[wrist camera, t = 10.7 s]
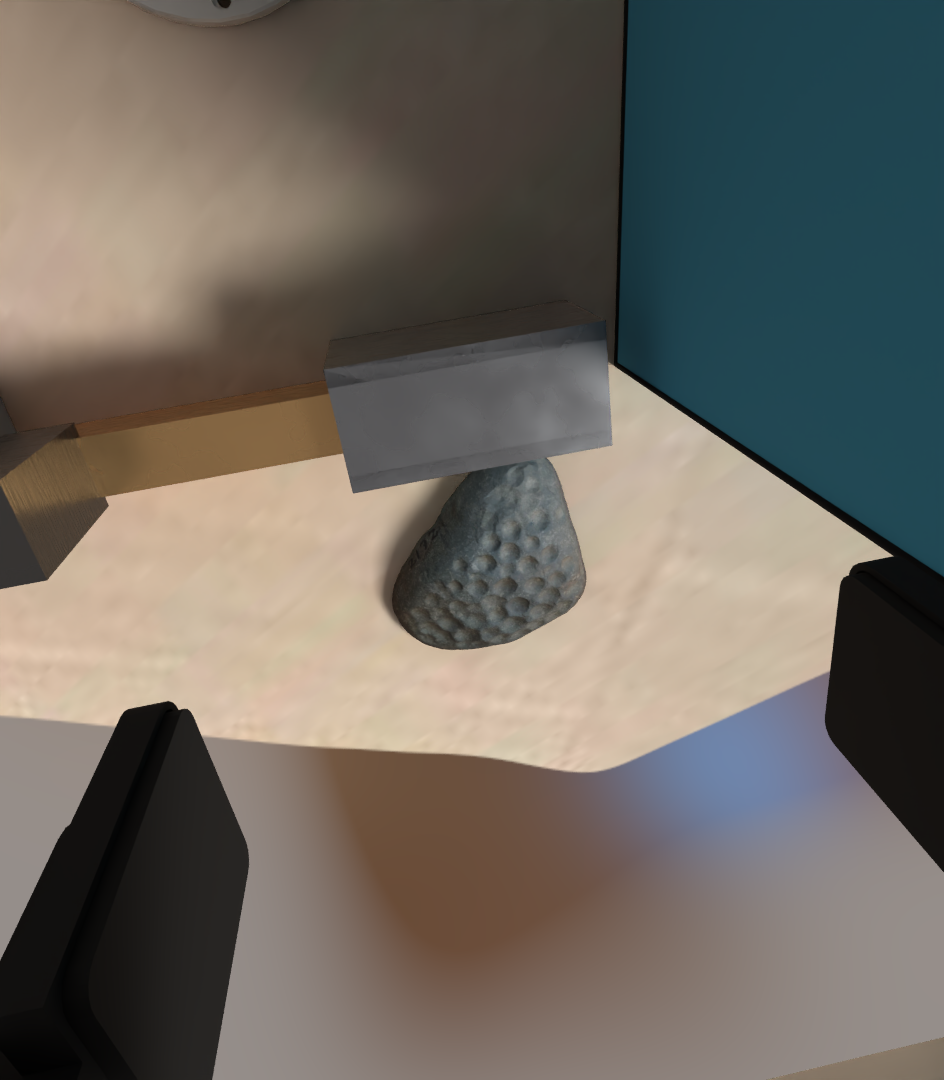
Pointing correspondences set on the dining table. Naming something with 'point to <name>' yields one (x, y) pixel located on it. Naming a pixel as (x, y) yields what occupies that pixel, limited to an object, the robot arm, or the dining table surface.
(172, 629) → the dining table surface
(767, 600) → the dining table surface
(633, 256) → the box
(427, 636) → the fossil
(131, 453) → the tan bar piece
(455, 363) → the sleeve
